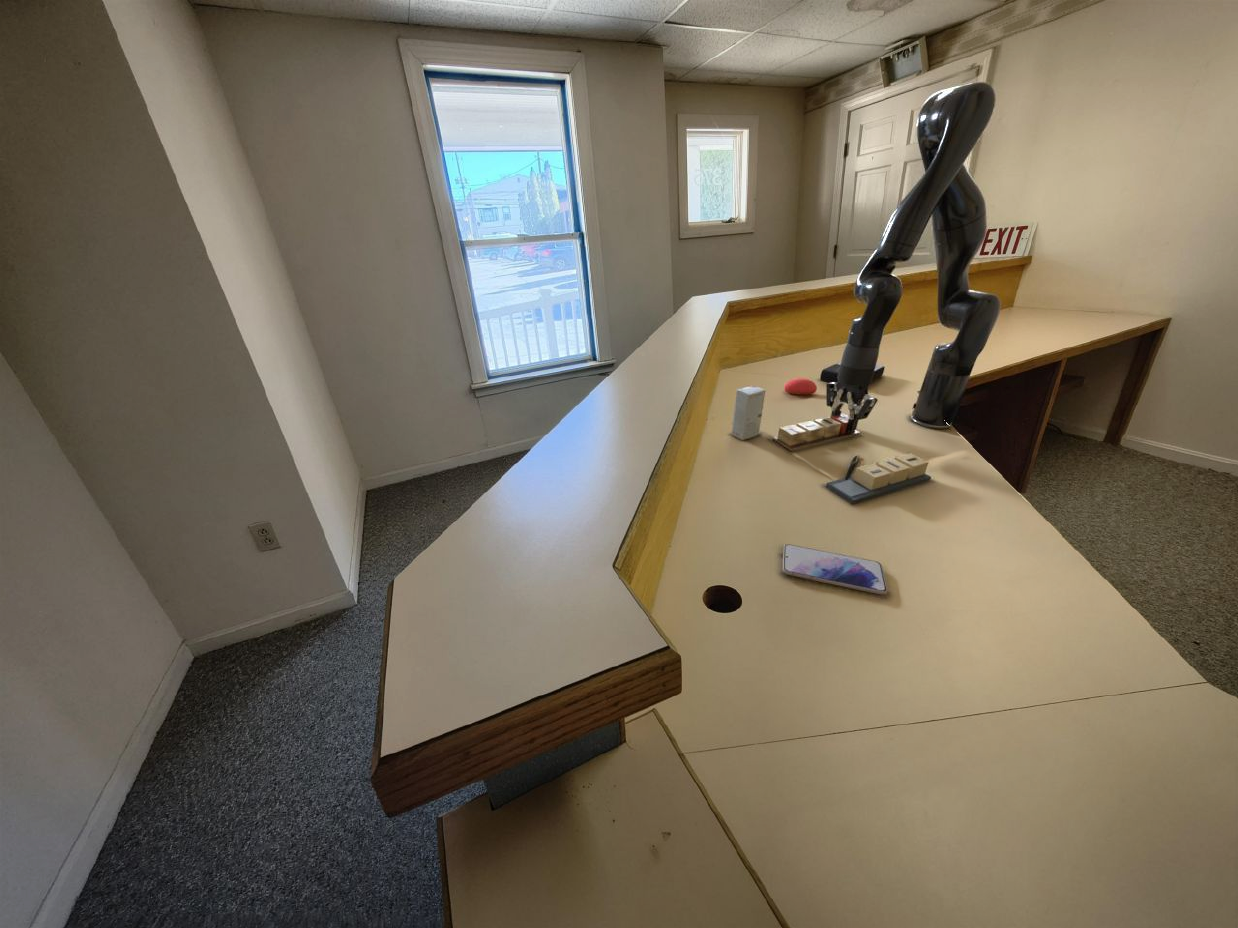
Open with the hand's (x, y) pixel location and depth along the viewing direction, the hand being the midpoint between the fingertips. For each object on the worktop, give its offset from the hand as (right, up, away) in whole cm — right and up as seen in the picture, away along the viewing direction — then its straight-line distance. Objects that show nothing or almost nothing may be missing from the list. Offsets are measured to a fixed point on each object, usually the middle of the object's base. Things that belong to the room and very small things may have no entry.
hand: (841, 427), depth 116 cm
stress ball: (-1, +12, +25) cm, 28 cm away
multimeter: (+21, +19, +37) cm, 47 cm away
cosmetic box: (-25, -2, 0) cm, 25 cm away
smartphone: (-23, -27, -44) cm, 56 cm away
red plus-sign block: (0, 0, 0) cm, 0 cm away
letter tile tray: (-8, -3, -2) cm, 8 cm away
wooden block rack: (-3, -14, -21) cm, 25 cm away
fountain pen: (-6, -10, -17) cm, 21 cm away
